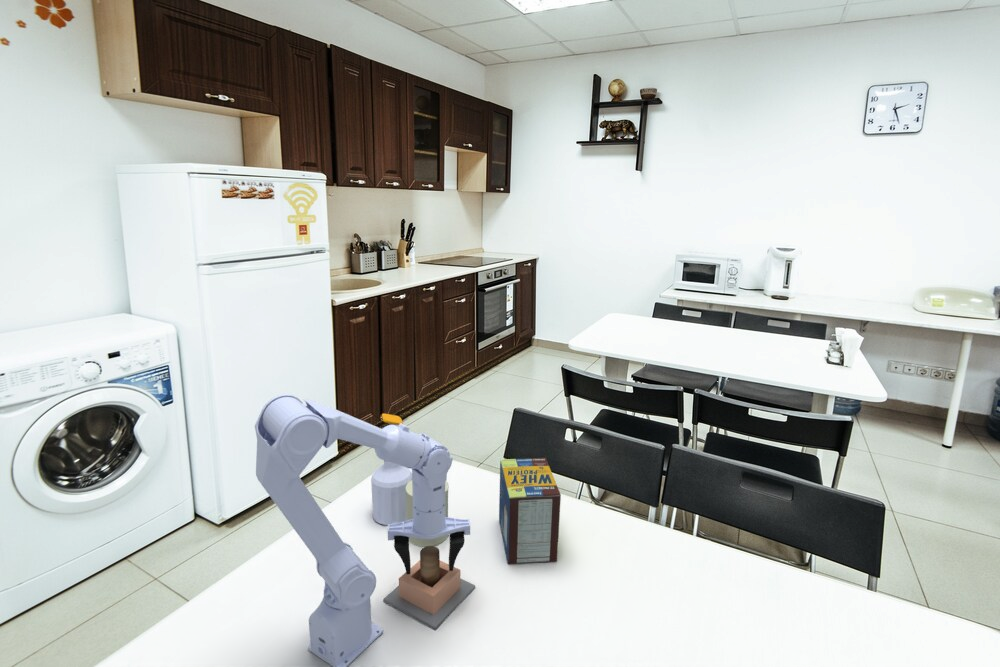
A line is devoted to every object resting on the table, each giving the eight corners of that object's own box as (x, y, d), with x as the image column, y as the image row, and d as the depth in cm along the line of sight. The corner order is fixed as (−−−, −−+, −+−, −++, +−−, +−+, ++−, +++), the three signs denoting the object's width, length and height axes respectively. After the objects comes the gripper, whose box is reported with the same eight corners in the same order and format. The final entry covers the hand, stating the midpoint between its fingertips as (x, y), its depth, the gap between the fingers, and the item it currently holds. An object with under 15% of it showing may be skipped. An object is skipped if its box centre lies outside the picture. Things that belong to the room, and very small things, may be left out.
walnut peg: (431, 598, 97) (431, 561, 95) (416, 591, 98) (415, 553, 96) (443, 587, 100) (443, 550, 97) (428, 579, 101) (428, 543, 99)
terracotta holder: (435, 630, 91) (435, 608, 90) (383, 601, 97) (382, 580, 96) (475, 588, 101) (475, 567, 100) (425, 564, 107) (425, 544, 106)
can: (452, 522, 121) (452, 474, 118) (444, 548, 112) (444, 498, 109) (412, 519, 122) (411, 471, 119) (401, 545, 113) (399, 494, 110)
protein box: (543, 517, 124) (546, 456, 119) (557, 562, 109) (561, 494, 105) (497, 519, 122) (499, 458, 118) (506, 565, 108) (508, 497, 103)
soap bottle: (371, 506, 126) (367, 409, 120) (410, 501, 129) (408, 406, 122) (374, 529, 118) (370, 426, 111) (415, 522, 120) (413, 422, 114)
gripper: (468, 488, 99) (467, 551, 103) (388, 493, 97) (390, 557, 101) (471, 510, 92) (470, 577, 96) (385, 516, 90) (388, 583, 94)
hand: (429, 568), depth 98 cm, fingers open, 7 cm apart
